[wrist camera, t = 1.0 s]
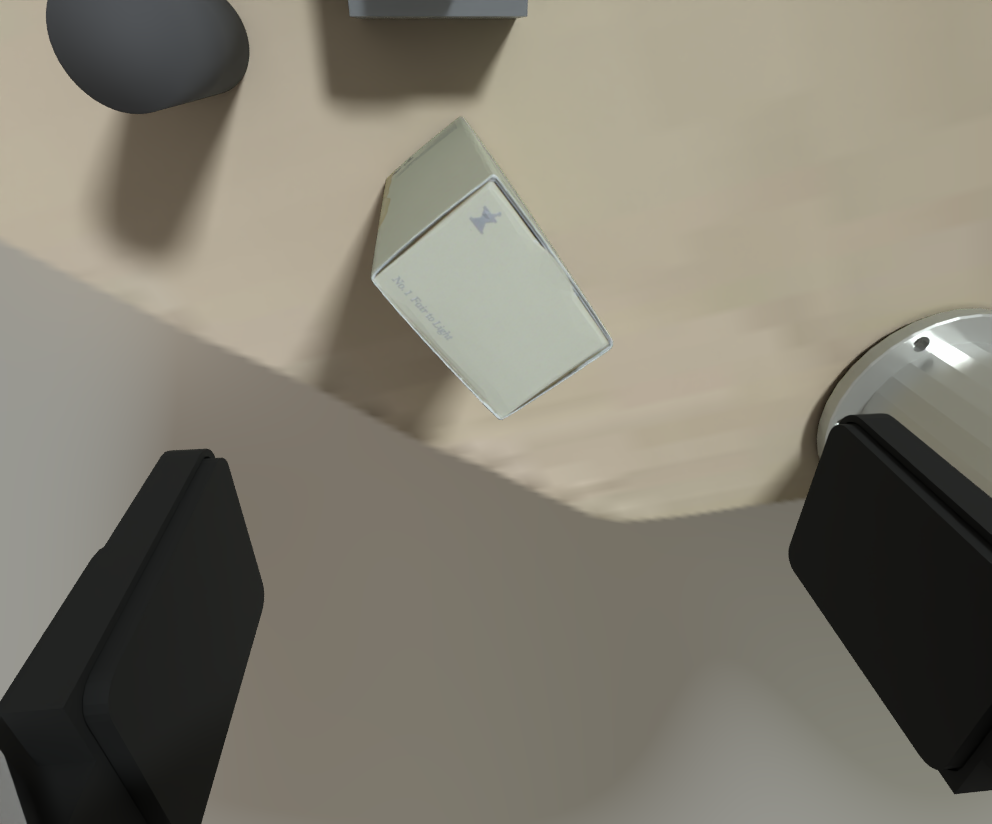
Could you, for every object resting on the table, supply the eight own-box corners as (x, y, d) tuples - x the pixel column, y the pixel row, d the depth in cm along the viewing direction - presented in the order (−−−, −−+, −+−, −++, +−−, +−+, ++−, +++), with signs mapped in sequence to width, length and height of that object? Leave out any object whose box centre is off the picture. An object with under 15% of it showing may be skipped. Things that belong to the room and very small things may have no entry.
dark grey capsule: (237, -18, 22) (167, -38, 16) (258, 94, 24) (202, 113, 18) (133, -19, 22) (23, -39, 16) (163, 94, 24) (74, 114, 18)
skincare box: (383, 178, 26) (354, 272, 16) (465, 109, 25) (491, 162, 15) (472, 289, 29) (496, 429, 19) (549, 232, 28) (619, 347, 18)
